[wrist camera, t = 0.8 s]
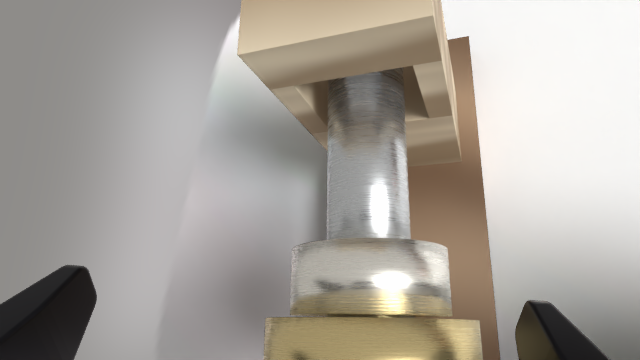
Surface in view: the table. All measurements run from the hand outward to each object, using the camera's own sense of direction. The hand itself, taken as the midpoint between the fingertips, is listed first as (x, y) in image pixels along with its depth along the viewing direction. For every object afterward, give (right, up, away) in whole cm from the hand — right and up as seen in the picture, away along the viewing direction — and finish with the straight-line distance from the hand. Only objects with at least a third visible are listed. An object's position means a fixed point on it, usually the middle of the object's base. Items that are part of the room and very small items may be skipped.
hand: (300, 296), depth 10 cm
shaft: (+3, +1, +5) cm, 6 cm away
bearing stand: (+4, +2, +10) cm, 11 cm away
